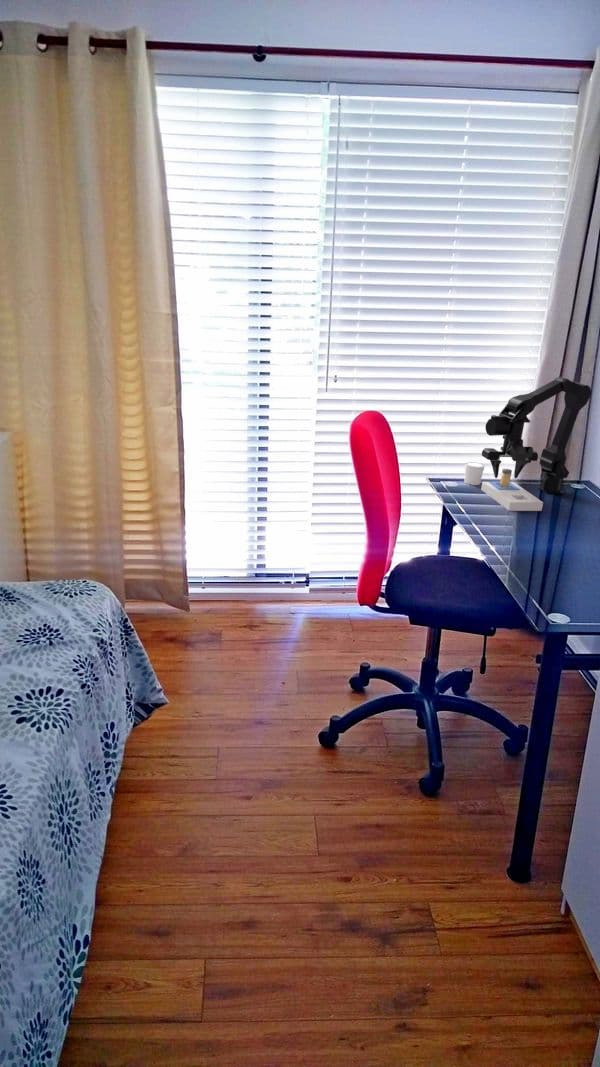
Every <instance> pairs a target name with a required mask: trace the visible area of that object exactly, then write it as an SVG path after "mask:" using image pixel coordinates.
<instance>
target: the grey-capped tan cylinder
mask: <svg viewBox="0 0 600 1067" xmlns="http://www.w3.org/2000/svg"><path fill="white" fill-rule="evenodd" d="M512 472H513V470H512V469H510V468H503V469H502V470H501V477H500V481H499V482H500V487H509V484H510V482H511V479H512V477H511V476H512Z"/></svg>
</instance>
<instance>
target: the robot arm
mask: <svg viewBox="0 0 600 1067" xmlns="http://www.w3.org/2000/svg"><path fill="white" fill-rule="evenodd" d="M562 392H564V397H563V398H564V399H563V401H564V409H563V412H562V415H561V417H560V420H559V423H558V426H557V427H556V431H555V434H554V436H553V439H552V442H551V444H550V446H549V447H548V448H543V449H542V452H541V454H540V457H539V454H538V452H537V451H535V450H534V448H533V446H524V439H523V432H524V428H525V423H531V420H530V419H529V417H528V415H530V414H531V413H532V412H533V411H534V410H535V408H536V407H537V406H538V405H540V404H542V403H543V402H545V401H547V400H550V399H551V398H553V397H554V396H556V395H558V394H560V393H562ZM591 396H592V389H591V387H590V385H587V384H584V383H581V382H577V381H572V380H570V379H569V378H566V377H562V376H557V377H556V378H554V379H553V380H552V381H550V382H548V383H546V384H544V385H542V386H541V387H538V388H536V389H535V390H533V391H531V392H529V393H524V394H519V395H515V396H513V397H511V398H510V399H508V402H507V403H506V404H505V406H504V408H503V409H502V410H501V411H500V412H499V413H498V415H496V414H492V415H491V416H490V418H489V419H488V420H487V422H486V423H485V431H486V432H485V433H486V434H487V435H488V436H492V437H493V436H494V437H495V436H502V439H503V443H502V446H500V450H497V449H495V448H492V447H487V448H486V447H484V449H483V450H481V451H482V452H481V456H482V457H483V458H485V460H488V461H489V462H490V464H491V466H492V472H493V475H494V478H495V479H498V476H499V473H500V472H499V471H500V464H502V460H500V458H511V460H512V461H513V462H515V465H514V473H513V474H514V477H513V478H514V479H517V478H518V477H519V475H520V474H521V472H522V470H523V469H524V467H525V466H526V465H528V464H530V463H532V462H537V461H538V459H539V465H540V467H541V468H540V470H541V472H542V473H543V477H542V478H541V483H540V486H538V488H539V489H540V490H541V491H543V492H544V493H546V494H558V495H559V494H564V491H562V487H563V484H564V483H563V482H564V479H567V478H568V476H569V474H570V472H569V470H568V468H567V467H566V461H567V454H566V447H567V444H568V442H569V439H570V436H571V435H572V431H573V429H574V427H575V423H576V420H577V418H578V415H579V412H580V410H582V409H583V408H584V407H585V406H586V405H587V404H588V402H589V400H590V398H591Z"/></svg>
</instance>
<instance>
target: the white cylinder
mask: <svg viewBox="0 0 600 1067" xmlns="http://www.w3.org/2000/svg"><path fill="white" fill-rule="evenodd" d="M464 466H465V467H464V478H463V479H464V484H466V483H467V485H470V484H471V486H479V485H480V484H481V482H482V477H483V475H484V474H483V473H484V471H485V464H483V463H479V462H475V461H467V462H466V463H465V464H464Z"/></svg>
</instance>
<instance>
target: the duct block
mask: <svg viewBox="0 0 600 1067" xmlns="http://www.w3.org/2000/svg"><path fill="white" fill-rule="evenodd" d="M481 482H482V483H481V488H480V490H481V491H482V492H484V493H485V494H486V495H487V496H489V497H490V498H492V499H493V500H494V501H495V502H497V503H498V504H499V505H501V506H502V507H503V508H504V509H506V510H507V511H511V512H514V511H515V512H525V511H527V512H533V511H535V512H541V511H542V510H543V505H544V502H543V501H542V500H540V499H539V498H538V497H536V496H534V495H533V494H531V493H530V492H529V491H527V490H526V489H525V488H523V487H521V485H519V484H517V483H516V482H514V481H510V484H509V487H500V481H481Z"/></svg>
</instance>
